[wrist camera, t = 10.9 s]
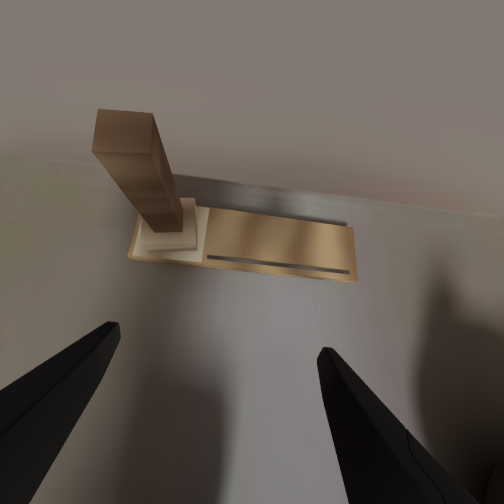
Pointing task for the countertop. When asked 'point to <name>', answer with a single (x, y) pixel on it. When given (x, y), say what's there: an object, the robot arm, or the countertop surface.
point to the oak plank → (262, 246)
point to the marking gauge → (145, 179)
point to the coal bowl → (496, 485)
